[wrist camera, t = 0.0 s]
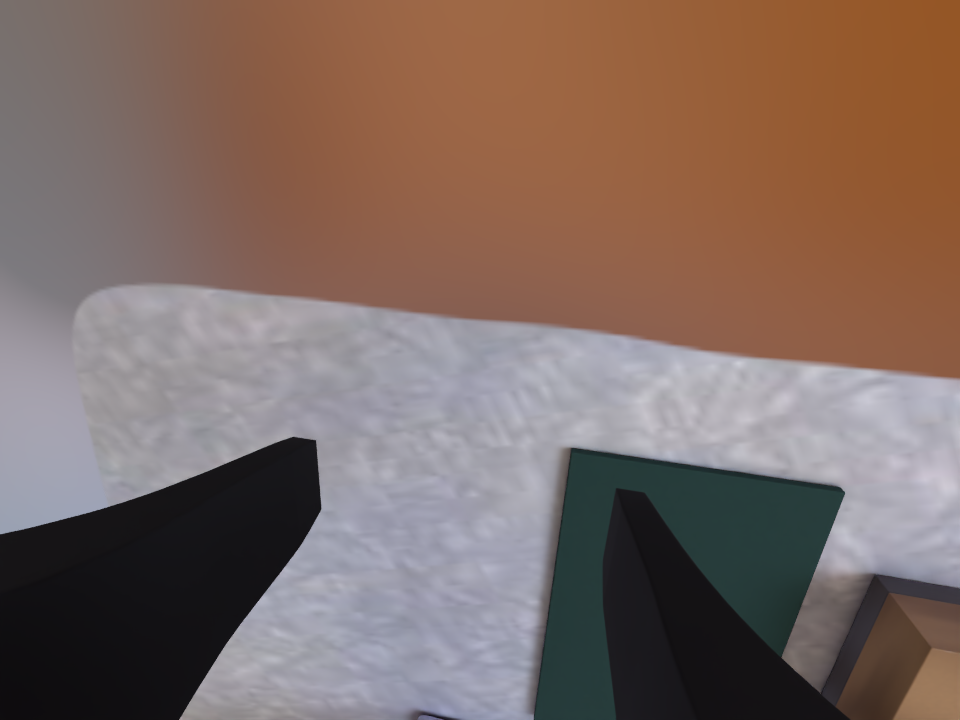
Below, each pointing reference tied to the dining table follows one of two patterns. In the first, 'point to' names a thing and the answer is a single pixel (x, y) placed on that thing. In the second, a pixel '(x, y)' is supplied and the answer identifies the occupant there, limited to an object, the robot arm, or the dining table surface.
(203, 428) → the dining table surface
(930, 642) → the eraser
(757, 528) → the desk mat
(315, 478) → the robot arm
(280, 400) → the dining table surface
